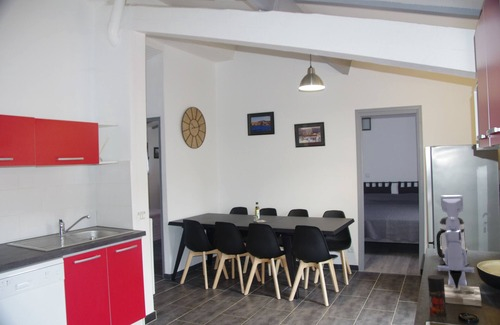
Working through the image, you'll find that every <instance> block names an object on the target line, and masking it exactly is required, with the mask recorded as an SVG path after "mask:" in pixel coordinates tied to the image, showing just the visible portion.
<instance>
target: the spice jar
mask: <svg viewBox="0 0 500 325" xmlns="http://www.w3.org/2000/svg"><path fill="white" fill-rule="evenodd" d="M427 285H428V286H427V287H428V296H429V297H428V300H429V302H428V303H429V314H430V315H431V316H434V317H438V318H440V317H441V318H442V317H446V316H447V306H446V303H445V288H444V285H445V278H444V276H443V275H438V274H430V275H428V276H427Z"/></svg>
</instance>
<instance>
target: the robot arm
mask: <svg viewBox="0 0 500 325" xmlns="http://www.w3.org/2000/svg"><path fill="white" fill-rule="evenodd" d="M463 197H464V196H463V195H462V194H454V195H453V194H452V195H451V194H450V195H449V194H448V195H447V194H445V195H443V194H441V195H440V206H441V210H442V212H444V213H446V214H447V217H448V219H447V220H446V231H445V239H446V244H447V248H446V249H445V261H444V262H445V263H444V264H445V265H437V271H439V272H441V271H443V272H448V280H447V281H448V284H447V285H455V287H456V288H458V286H468V285H467V280H466V273H472V274H473V273H474V274H475V267H470V266H468V265H467V264H468V262H467V261H468V259H467V258H468V257H467V249H466V250H465V249H464V248H462V247H461V243H462V236H461V230H460V222H459V220H458V217H459V213H461V212H463V210H464V199H463ZM459 240H461V243H460V241H459ZM462 252H463V253H462Z"/></svg>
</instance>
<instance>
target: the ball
mask: <svg viewBox="0 0 500 325" xmlns="http://www.w3.org/2000/svg"><path fill="white" fill-rule="evenodd" d="M460 290H461V288H460V286H458V288H456V287H455V285H454V286H453V291H455V292H459V291H460Z"/></svg>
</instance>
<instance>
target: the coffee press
mask: <svg viewBox="0 0 500 325" xmlns="http://www.w3.org/2000/svg"><path fill="white" fill-rule="evenodd" d="M447 219H448V216H445V217H442V218H441V219H440V220H439V225H440V228H439V231H437V233H436V237H435V238H436V252H437V255H438V257H439V258H441V260H440V264H441V265H443V264H445V249H446V248H447V244H446V239H445V231H446V220H447ZM458 220H459V222H460V230H461V236H462V243H461V240H459V241H460V243H461V247H462V248H464V249H465V250H466V251H467V249H466V246H467V245H466V236H465V228H464V227H465V226H464V224H465V221H464V220H463V219H462V218H461V217H459V216H458ZM462 253H463V252H462ZM468 265H470V262H469V261H468V260H467V265H466V266H468Z"/></svg>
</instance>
